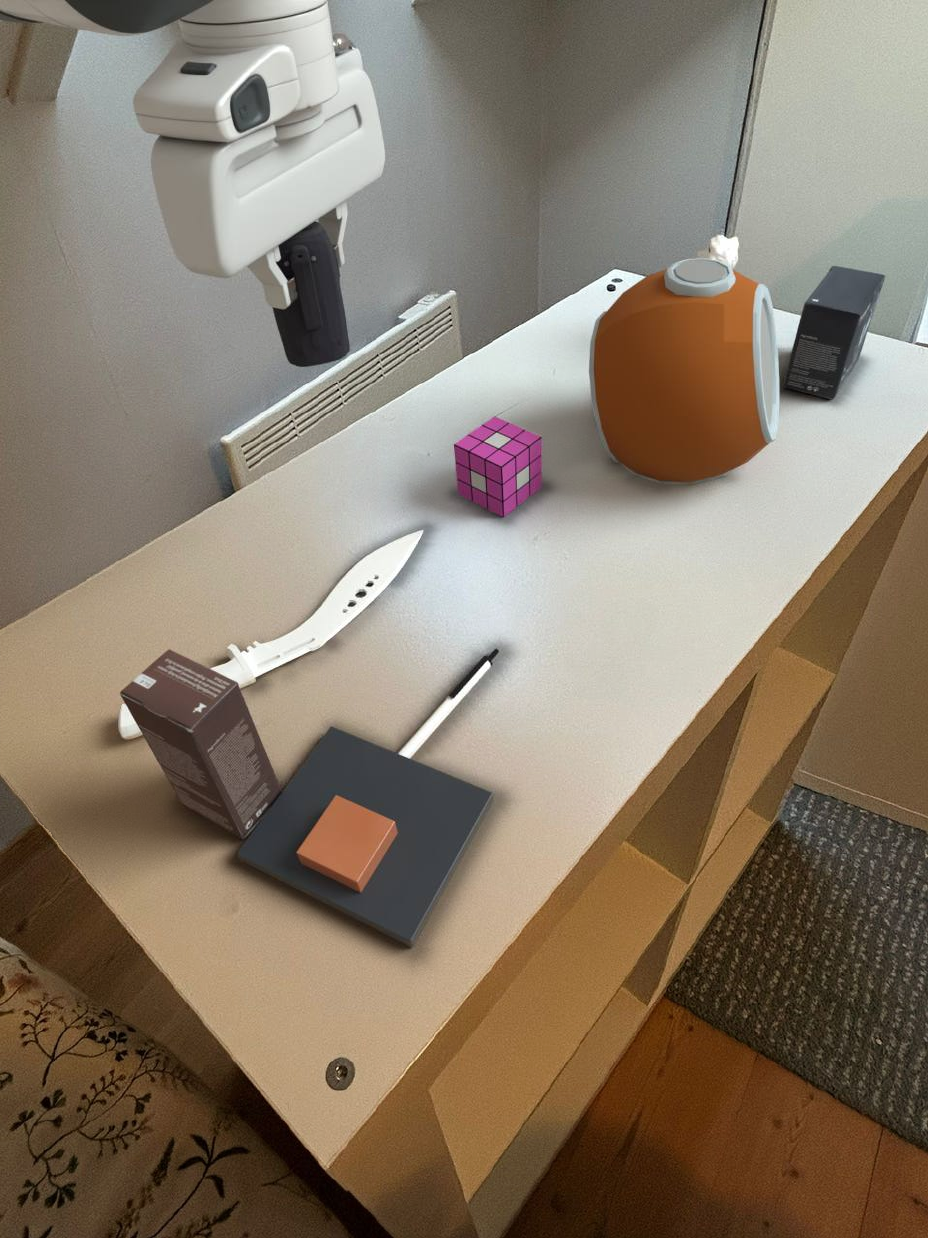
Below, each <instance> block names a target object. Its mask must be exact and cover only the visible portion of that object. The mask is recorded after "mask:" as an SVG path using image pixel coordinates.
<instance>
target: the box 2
mask: <svg viewBox="0 0 928 1238" xmlns="http://www.w3.org/2000/svg"><path fill="white" fill-rule="evenodd" d="M885 279H886V275H885V274H882V273H877V272H872V271H866V270H860V269H855V268H851V267H850V268H849V267H845V266H844V267H843V266H838V265H832V266H831V267H830V268H829V269H828V271H827V272H826V274H825V275H824V277H823V278H822V279H821V281H820V282H819V283H818V285H816V287H815V289H814V290H813V292H812V293H811V294H810V295H809V297H808V298H807V299H806V301H805V302H804V304H803V307H802V310H801V314H800V318H799V322H798V325H797V329H796V333H795V338H794V340H793V345H792V349H791V353H790V356H789V360H788V364H787V368H786V371H785V375H784V376H785V377H784V379H783V383H782V388H784V389H787V390H792V391H795V392H796V391H797V392H800V393H805V394H810V395H814V396H816V397H821V398H824V399H829V400H835V398H836V397H837V395H838V393H839V392H840V390H841V389H842V387H843V385H844V384H845V382H846V380H847V379H848V377H849V375H850V374H851V373H852V370H853V369H854V368H855V366H856V364H857V363H858V361H859V359H860V357H861V353H862V352H863V351H862V350H863V348H864V344H865V341H866V337H867V334H868V331H869V327H870V325H871V321H872V319H873V316H874V313H875V310H876V306H877V303H878V301H879V297H880V295H881V291H882V288H883V285H884V282H885Z"/></svg>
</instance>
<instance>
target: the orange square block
mask: <svg viewBox="0 0 928 1238" xmlns="http://www.w3.org/2000/svg"><path fill="white" fill-rule="evenodd" d="M397 834H398V831H397V827H396V823H395V821H393V820H391V819H388V818H386V817H384V816H382V815H380V814H377V813H375V812H373V811H371V810H368V809H366V808H364V807H362V806H359V805H357V804H355V803H353V802H351V801H348V800H346V799H344V798H342V797H339V796H337V795H336V796H335V797H334V799H333V800H332V802H331V803H330V804H329V806H328V807H327V809H326V810H325V812H324V813H323V815H322V816H321V817H320V819H319V820H318V822H317V823H316V825H315V826H314V828H313V829H312V830H311V832H310V833H309V835H308V836H307V838H306V839H305V841H304V842H303V843H302V845H301V846H300V848H299V849H298V851H297V852H296V853H297V855H298V857H299V860H300V862H301V864H303V865H305V866H307V867H309V868H311V869H313V870H315V871H317V872H319V873H321V874H323V875H325V876H327V877H329V878H332V879H334V880H336V881H338V882H340V883H342V884H344V885H346V886H348V887H350V888H352V889H354V890H356V891H358V892H360V893H361V892H362V890H363V889H364V887H365V885H366V884H367V882H368V881H369V879H370V877H371V876H372V874H373V872H374V871H375V869H376V868H377V866H378V864H379V863H380V861H381V859H382V858H383V856H384V855H385V853H386V851H387V850H388V848H389V846H390V845H391V843H392V842H393V840H394V838H395V837H396V835H397Z"/></svg>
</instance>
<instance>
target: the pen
mask: <svg viewBox="0 0 928 1238" xmlns="http://www.w3.org/2000/svg"><path fill="white" fill-rule="evenodd" d="M499 653H500V650H499V649H498V648H494V650H492V651H491V653H490V654H488V655H483V656H482V658H480V660H478V662H477V663H475V665H474V666H473V667H472V668H471V669H470V671H469V672H468V673H467V674H466V675H465V676H464V677H463V678H462V680H461V681H460V682H459V683H458V684H457V685H456V687H455V688H454V689H453V690H452V691H451V692H450V693H449V694H448V696H447V697H446V698H445V699H444V700H443V701H442V702H441V704H440V705H439V706H438V708H436V709H435V711H434V712H433V713H432V714H431V715H430V716H429V718H428V719H426V721H425V722H424V723H423V724H422V725H421V726H420V727H419V729H418V730H417V731H416V732H415V733H414V734H413V735H412V737H411V738H410V739H409V740H408V741H407V742H406V743H405V744H404V746H402V748H401V749H400V750H399V751H398V752H396V753H397V754H400V755H402V756H405V757H407V758H409V759H412V757H413V756H414V754H415V753H417V751H418V750H419V749H420V748H421V746H423V745H424V743H425V742H426V741H427V740H428V739H429V738H430V736H431V735H432V734H434V732H435V731H436V730H437V729H438V728H439V726H440V725H441V724H442V723H443V722H444V721H445V719H446V718H447V717H448V716H449V715H450V713H452V711H453V710H454V709H455V708H456V707H457V706H458V704H460V702H461V701H462V700H463V699H464V698H465V697H466V695H468V693H469V692H470V691H471V690H472V688H474V686H476V684H477V683H478V682H479V681H480V680H481V678H482V677H483V676H484V675H485V674H486V673H487V671H488V670H489V669H490V668H491V667H492V666H493V662H492V661H493V659H494V658H495V657H496V656H497V655H498V654H499Z"/></svg>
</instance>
